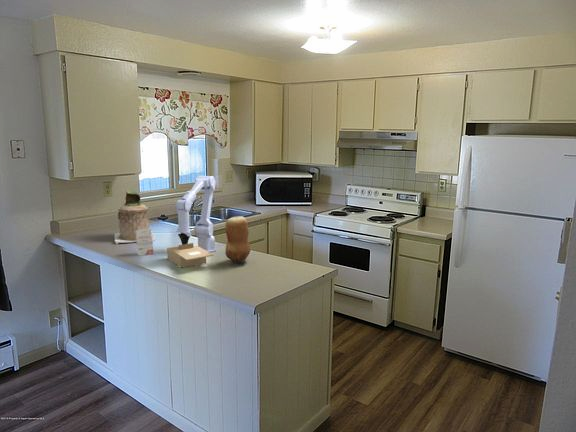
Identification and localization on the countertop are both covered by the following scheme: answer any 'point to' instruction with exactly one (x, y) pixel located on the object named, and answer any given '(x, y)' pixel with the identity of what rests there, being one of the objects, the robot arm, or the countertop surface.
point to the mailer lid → (191, 252)
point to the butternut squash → (237, 239)
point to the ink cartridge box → (144, 242)
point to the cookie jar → (132, 219)
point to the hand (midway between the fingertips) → (184, 246)
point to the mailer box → (181, 261)
